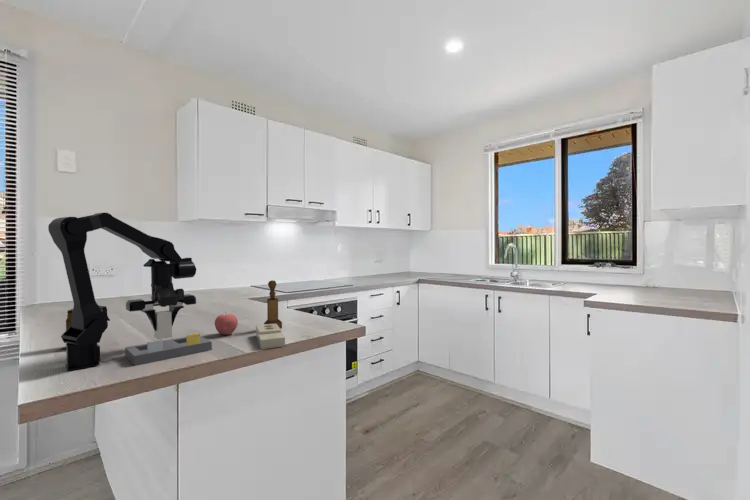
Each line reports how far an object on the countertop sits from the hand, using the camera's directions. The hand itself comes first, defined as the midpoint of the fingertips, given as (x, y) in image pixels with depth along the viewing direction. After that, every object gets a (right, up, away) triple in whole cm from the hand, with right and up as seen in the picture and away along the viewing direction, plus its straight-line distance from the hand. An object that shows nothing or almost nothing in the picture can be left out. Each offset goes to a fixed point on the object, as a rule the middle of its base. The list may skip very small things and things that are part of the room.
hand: (163, 329), depth 119 cm
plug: (0, -3, 0) cm, 2 cm away
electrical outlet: (+33, -5, +4) cm, 33 cm away
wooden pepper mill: (+29, -4, +22) cm, 37 cm away
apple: (+15, -5, +14) cm, 21 cm away
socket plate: (+7, -5, -8) cm, 12 cm away
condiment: (-27, -6, -1) cm, 27 cm away
